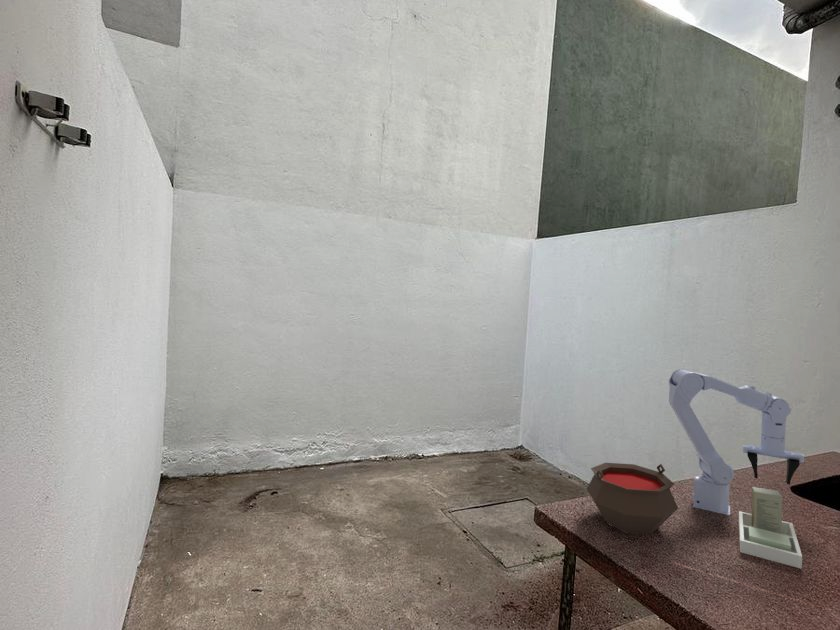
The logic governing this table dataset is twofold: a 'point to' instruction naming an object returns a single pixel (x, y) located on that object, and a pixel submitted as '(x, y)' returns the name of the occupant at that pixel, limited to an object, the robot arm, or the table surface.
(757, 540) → the pale green block
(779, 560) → the white rectangular tray
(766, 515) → the skincare box
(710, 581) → the table surface
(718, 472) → the robot arm
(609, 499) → the brown cauldron
